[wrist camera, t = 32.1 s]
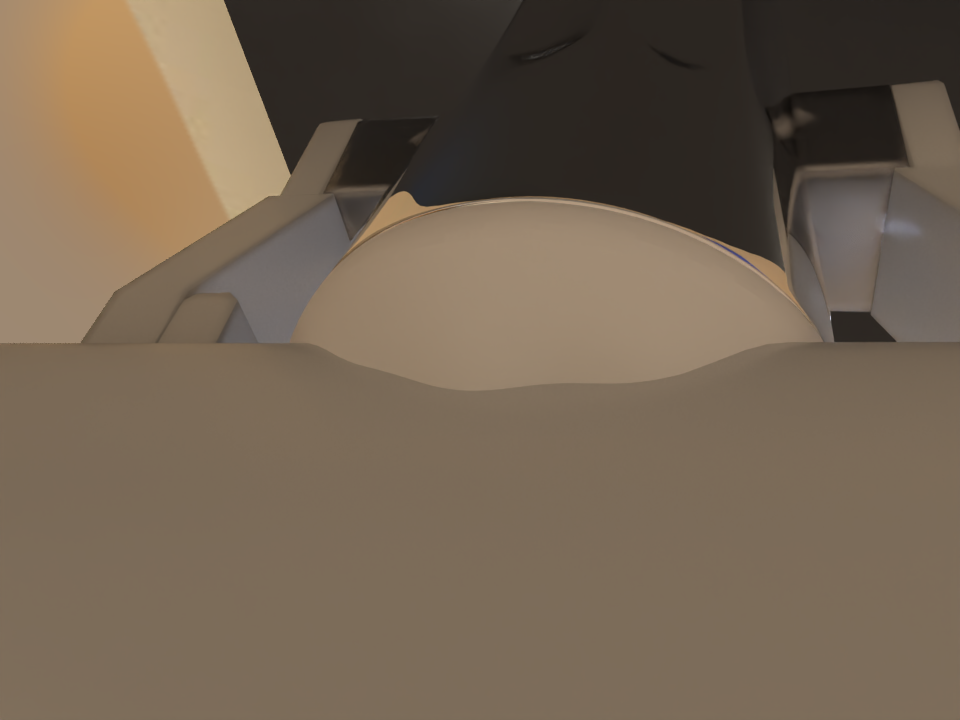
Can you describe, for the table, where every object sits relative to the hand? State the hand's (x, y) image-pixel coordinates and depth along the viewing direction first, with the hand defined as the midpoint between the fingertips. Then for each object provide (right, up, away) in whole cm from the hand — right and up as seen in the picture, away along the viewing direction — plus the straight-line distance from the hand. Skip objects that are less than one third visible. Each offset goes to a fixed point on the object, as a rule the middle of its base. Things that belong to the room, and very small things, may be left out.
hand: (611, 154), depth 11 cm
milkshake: (+1, +3, +2) cm, 4 cm away
